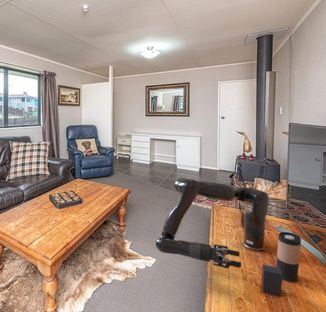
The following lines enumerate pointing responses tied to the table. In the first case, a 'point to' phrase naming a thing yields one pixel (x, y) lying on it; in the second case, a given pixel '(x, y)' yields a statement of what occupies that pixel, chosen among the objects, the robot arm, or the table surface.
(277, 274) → the slate block
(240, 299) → the table surface
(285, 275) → the travel mug
